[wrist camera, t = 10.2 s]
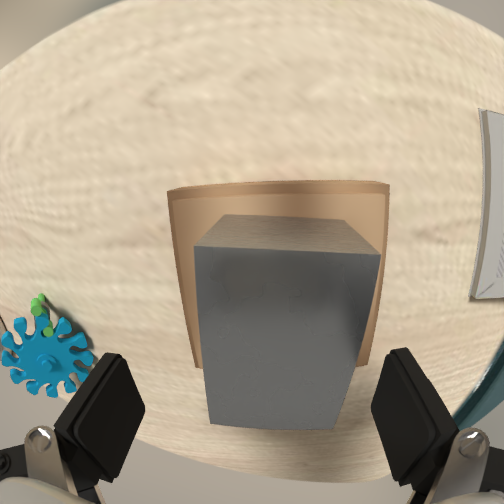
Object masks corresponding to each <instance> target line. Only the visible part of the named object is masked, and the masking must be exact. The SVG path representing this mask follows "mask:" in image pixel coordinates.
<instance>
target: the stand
mask: <svg viewBox="0 0 504 504" xmlns="http://www.w3.org/2000/svg"><path fill="white" fill-rule="evenodd" d="M389 187H390V185H389V184H385V183H380V182H376V181H342V180H306V181H267V182H245V183H228V184H214V185H201V186H190V187H181V188H177V189H174V190H170V191H167V197H168V207H169V216H170V224H171V232H172V240H173V248H174V255H175V261H176V268H177V274H178V281H179V287H180V293H181V298H182V304H183V309H184V315H185V320H186V325H187V330H188V335H189V340H190V344H191V349H192V354H193V358H194V363H195V367H196V368H200V369H203V363H202V354H201V344H200V334H199V323H198V311H197V297H196V283H195V266H194V245H195V244H196V243H197V242H198V241H199V240H200V239H201V238H202V237H203V236H204V235H205V234H206V233H207V232H208V231H209V229H210V228H211V227H212V226H213V225H214V224H215V223H216V222H217V221H218V220H219V219H220V218H221V217H222V216H223V215H224V214H238V215H265V216H288V217H307V218H324V219H339V220H344V221H346V222H347V223H348V224H349V225H350V226H351V227H352V228H353V229H354V230H356V231H357V232H358V233H359V234H360V235H361V236H362V237H363V238H364V239H365V240H366V241H367V242H369V243H370V244H371V245H372V246H373V247H374V248H375V249H376V250H377V251H378V252H379V253H380V254H381V260H380V266H379V271H378V277H377V282H376V287H375V292H374V296H373V301H372V305H371V310H370V314H369V318H368V322H367V326H366V330H365V334H364V338H363V341H362V345H361V349H360V352H359V355H358V359H357V362H356V365H355V367H358V366H364V365H367V364H368V360H369V356H370V351H371V347H372V342H373V337H374V332H375V327H376V322H377V316H378V310H379V304H380V298H381V291H382V284H383V276H384V267H385V258H386V247H387V235H388V219H389Z"/></svg>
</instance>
